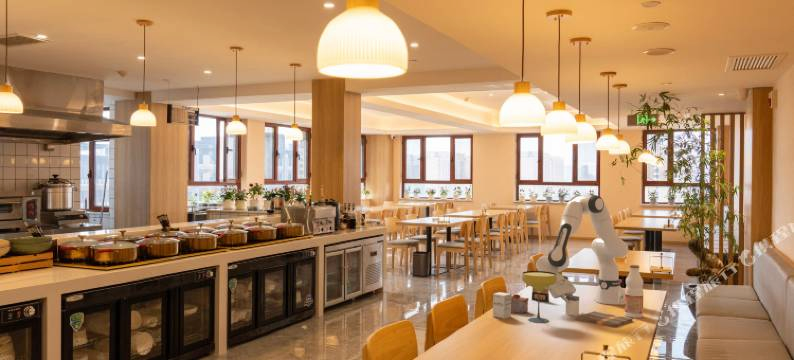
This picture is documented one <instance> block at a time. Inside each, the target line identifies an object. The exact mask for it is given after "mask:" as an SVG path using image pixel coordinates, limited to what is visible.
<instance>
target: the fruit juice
mask: <svg viewBox="0 0 794 360" xmlns="http://www.w3.org/2000/svg"><path fill="white" fill-rule="evenodd" d="M629 269H630V270H629V273H628V275H627V276H626V278H625V285H626V286H625V290H624V291H625V304H624V317H627V318H634V319H638V318H639V319H641V318H643V316H644V288H643V285H644V279H643V278H642V275H641V273H640V265H637V264H630V266H629Z"/></svg>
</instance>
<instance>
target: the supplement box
mask: <svg viewBox="0 0 794 360" xmlns="http://www.w3.org/2000/svg"><path fill="white" fill-rule="evenodd" d="M492 296H493V297H492V298H493V300H492V317H495V318H498V319H503V320H504V319H507V318H508V319H509V318H511V316H512V312H511V296H512V293H508V292H501V291H498V292H496V293H495V292H494V293H493V295H492Z"/></svg>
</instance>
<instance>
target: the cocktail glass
mask: <svg viewBox="0 0 794 360" xmlns="http://www.w3.org/2000/svg"><path fill="white" fill-rule="evenodd" d="M521 279H522V281H523V283H525V284H527V285H528V286H530V287H531V288H532V287H533V288H534V289H535V290H536V291H537V292H538V301H537V315H536V317H529V318H527V320H528V321H529V322H530V323H537V324H546V323H549V322H550V321H549V319H547V318H544V317H541V315H540V313H541V312H540V301H539V295H540V292H541V291H542V290H543V289H544V288H546V287H549V286H551V285H553V284H554V283H555V282H556V280H557V275H556V274H555V273H552V272H545V271H538V270H528V271H527V270H526V271H523V272H521Z"/></svg>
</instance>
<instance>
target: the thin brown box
mask: <svg viewBox="0 0 794 360" xmlns="http://www.w3.org/2000/svg"><path fill="white" fill-rule="evenodd" d="M531 288H532V289H531V290H532V291H531V301H536V302H538V292H537V291H536V290H535V289H534V288H533V287H531ZM539 302H542V303H543V302H544V303H549V302H550V292H549V290H548V287H546V288H544V289H543V290H542V291H541V292H540V295H539Z"/></svg>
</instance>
